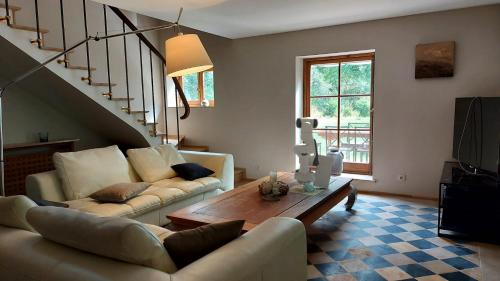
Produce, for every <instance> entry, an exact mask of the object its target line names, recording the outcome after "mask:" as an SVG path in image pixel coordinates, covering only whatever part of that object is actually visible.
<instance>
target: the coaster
mask: <svg viewBox="0 0 500 281" xmlns="http://www.w3.org/2000/svg"><path fill="white" fill-rule="evenodd" d="M304 188H305V189H306V190H307V191H309V192H310V193H311V192H313V191H314V190H315V189H317V187H315V186H313V184H311V183H309V182H307V183H306V185H305V186H304Z"/></svg>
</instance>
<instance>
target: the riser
mask: <svg viewBox="0 0 500 281" xmlns="http://www.w3.org/2000/svg"><path fill="white" fill-rule="evenodd" d="M304 186H305V185H303V183H298V184H295V185H293V186H291V187H289V192H290V193H294V194H302V193H304V192H306V191H307V190H306V189H305V188H304ZM302 195H303V194H302Z"/></svg>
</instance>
